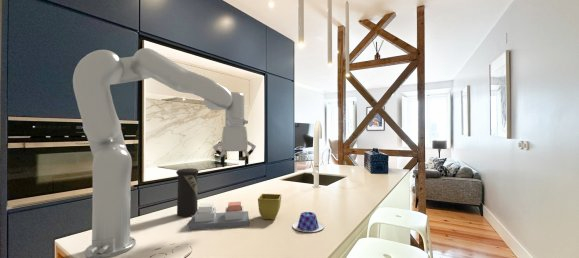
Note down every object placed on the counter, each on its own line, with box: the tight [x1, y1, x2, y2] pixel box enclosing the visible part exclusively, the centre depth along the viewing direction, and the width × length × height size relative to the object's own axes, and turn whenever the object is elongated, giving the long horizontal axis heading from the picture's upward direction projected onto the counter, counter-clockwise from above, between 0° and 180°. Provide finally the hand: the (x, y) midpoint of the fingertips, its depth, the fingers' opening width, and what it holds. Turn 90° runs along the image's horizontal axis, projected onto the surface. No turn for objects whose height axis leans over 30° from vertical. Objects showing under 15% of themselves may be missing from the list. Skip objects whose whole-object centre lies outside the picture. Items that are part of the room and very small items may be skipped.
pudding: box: [292, 211, 325, 233], centre depth 95 cm, size 12×12×5 cm
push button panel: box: [187, 205, 250, 231], centre depth 99 cm, size 12×22×5 cm, turn 101°
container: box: [175, 167, 199, 218], centre depth 109 cm, size 9×9×20 cm
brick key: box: [227, 201, 242, 212], centre depth 100 cm, size 5×5×3 cm
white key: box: [198, 202, 214, 213], centre depth 98 cm, size 5×5×3 cm
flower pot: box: [257, 193, 282, 220], centre depth 105 cm, size 9×9×9 cm
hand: (234, 166), depth 101 cm, fingers open, 8 cm apart
